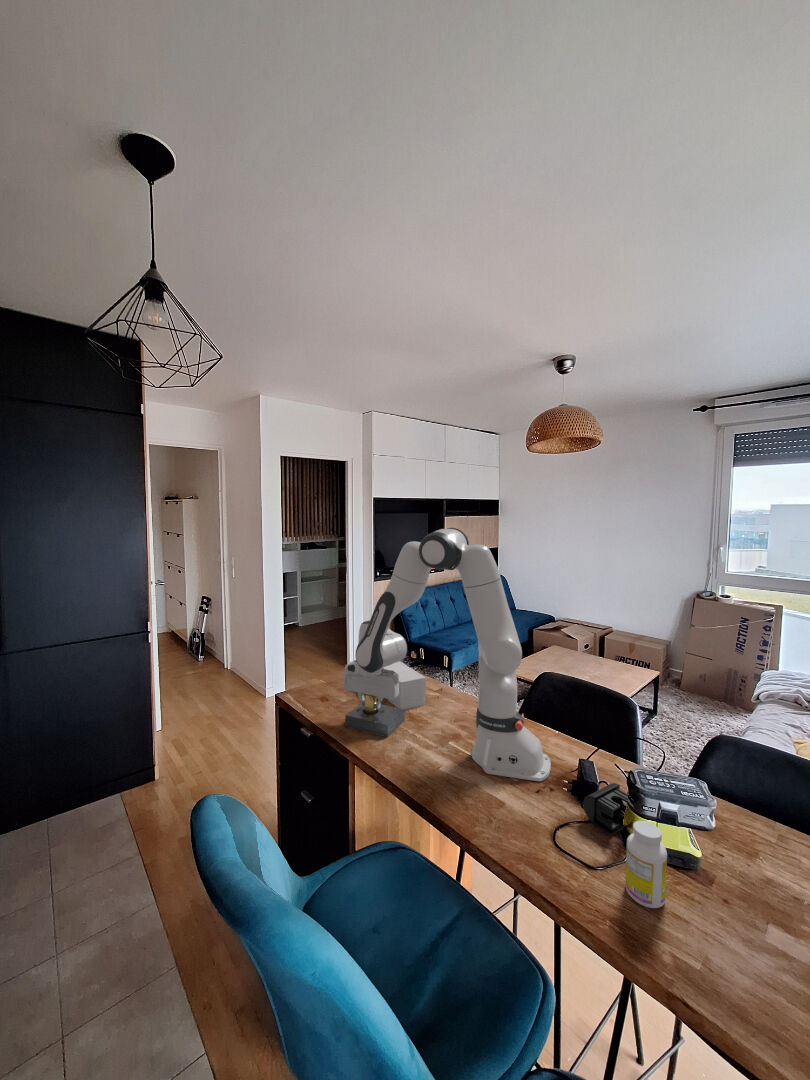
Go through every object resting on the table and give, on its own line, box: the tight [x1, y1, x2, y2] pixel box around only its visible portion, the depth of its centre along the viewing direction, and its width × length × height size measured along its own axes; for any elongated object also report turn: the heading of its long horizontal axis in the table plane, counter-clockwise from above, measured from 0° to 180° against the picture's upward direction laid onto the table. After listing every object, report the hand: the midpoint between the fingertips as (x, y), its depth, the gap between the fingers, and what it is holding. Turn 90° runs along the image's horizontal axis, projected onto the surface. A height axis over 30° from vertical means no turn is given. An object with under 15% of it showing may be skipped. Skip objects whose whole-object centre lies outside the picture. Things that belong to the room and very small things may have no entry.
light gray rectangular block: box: [384, 661, 427, 710], centre depth 176 cm, size 32×11×11 cm, turn 28°
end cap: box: [582, 782, 629, 836], centre depth 103 cm, size 10×7×7 cm
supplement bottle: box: [625, 820, 668, 909], centre depth 82 cm, size 7×7×13 cm
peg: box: [364, 694, 377, 715], centre depth 149 cm, size 4×4×8 cm
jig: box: [344, 703, 406, 738], centre depth 149 cm, size 16×13×4 cm
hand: (370, 706), depth 149 cm, fingers closed on peg, 4 cm apart
